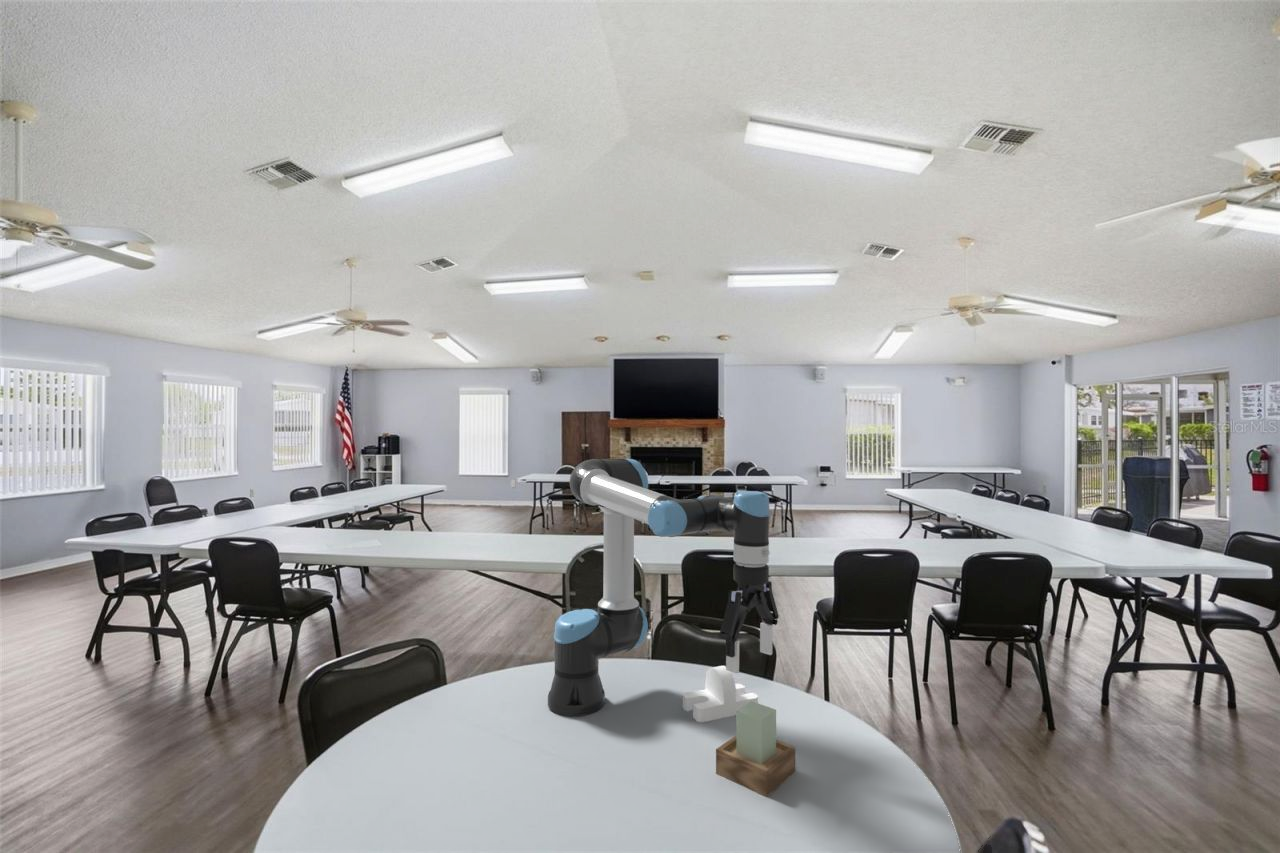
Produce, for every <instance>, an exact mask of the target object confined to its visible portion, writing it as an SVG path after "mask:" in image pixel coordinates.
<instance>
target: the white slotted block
mask: <svg viewBox="0 0 1280 853" xmlns="http://www.w3.org/2000/svg"><path fill="white" fill-rule="evenodd" d="M704 681H705V683H704V684H705V685H704V687H705V688H704V689H700V690H694V691H689V692H684V693H682V709H683V708H684V709H685V710H686V711H687V712H692V718H693V719H694V720H695V721H696V722H698V723H706V722H710V721H714V720H715V721H716V720H719V719H724V718H731V717H734V715H735V716H736V711H737V710H738V709H740V708H741V707H743V706H744V705H746V704H748V703H749V702H751V701H753V702H755V703H758V704H759V696H758V695H757V694H756V693H755V692H749V693H747V692H746V690H747V688H746V686H745V685H744V684H741V683H736V681H735V679H734V675H733V674H732V672H731V671H728V670H726V665H718V666H713V667H708V668H707V670H706V672H705V680H704ZM684 709H683V710H684ZM685 710H684V711H685ZM689 710H690V711H689ZM691 710H692V711H691ZM686 711H685V712H686Z"/></svg>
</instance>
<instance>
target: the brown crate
mask: <svg viewBox="0 0 1280 853" xmlns="http://www.w3.org/2000/svg"><path fill="white" fill-rule="evenodd" d="M795 772H796V747H795V746H793V745H792V744H791V745H790V744H788V743H786V742H783V741H782V740H781V741H780V740H778V739H776V753H775V754H774V755H773V756H772V757H770V758H769V759H768V760H767V761H765V762H764V763H763V764H759V763H757V762H755V761H752V760H750V759H748V758H745V757H743V756H741V755H738V754H736V735H734V736H733V737H731V738H730V739H729V740H727V741H726V742H724V743H723V744H721V745H720V746H718V747H717V748H715V774H716V775H718V776H720V777H722V778H726V779H728V780H729V781H731V782H734V783H736V784H738V785H741V786H743V787H744V788H747V789H748V790H751V791H753V792H755V793H757V794H759V795H762V796H764V797H766V798H767V797H769V796H770V795H771V794H772V793H773V792H774V791H775V790H776V789H778V788H779V787H780V786H781V785H782V784H783V783H784V782H785V781H786V780H787V779H788V778H789V777H790V776H792V775H793V774H794V773H795Z"/></svg>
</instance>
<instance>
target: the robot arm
mask: <svg viewBox="0 0 1280 853" xmlns="http://www.w3.org/2000/svg"><path fill="white" fill-rule="evenodd" d="M569 487H570V491H571V493H572V495H573V496H574V497H575V498H576V499H577V500H579V501H580V502H582V503H584V504H587V505H589V506H598V508H599V509H600V510H601V511H602V512H603V569H602V570H603V575H602V576H603V578H602V579H603V581H602V582H603V586H602V587H603V589H602V590H603V593H602V594H603V596H602V598H601V599H600V600H599V601H598V603H597V611H596V610H594V609H591V608H590V609H589V608H582V609H574V610H570V611H568V612H565V613H563V614H562V615H560V616H559V617H558V618H557V620H556V622H555V624H554V626H555V627H554V633H553V634H554V635H553V639H554V676H553V679H552V683H551V686H550V690H549V692H548V694H547V708H548V709H549V710H550V711H551V712H553V713H555V714H557V715H561V716H567V717H568V716H569V717H581V716H586V715H591V714H594V713H596V712H597V711H599V710H601V709H603V707H604V706H605V704H606V692H605V690H604V688H603V684H602V680H601V676H600V674H599V665H600V664H599V660H600V659H603V658H607V657H610V656H614V655H618V654H622V653H628V652H629V651H630V652H631V651H632V650H634V649H637V648H639V647H640V646H641V645H642V644H643V643H644V642H645V639H646V638H647V634H648V629H649V628H648V626H649V624H648V619H647V617H646V613H645V611H644V610H643V608H641V607H640V602H639V601H638V600H637V598H635V594H634V592H635V590H634V584H635V582H634V581H635V566H634V565H635V551H634V550H635V520H637V521H639V522H641V523H644V524H646V525H648V526H649V528H650V531H651V530H652V533H653V534H654V535H656V536H657V537H661V538H664V537H668V538H674V537H677V536H682V535H683V536H685V535H690V534H698V533H706V532H713V531H722V532H727V533H732V534H733V558H732V560H733V562H735V563H734V564H733V571H732V572H733V581H735V582H736V583H737V585H738V586H737V590H732V589H730V590H729V591H728V598H727V603H726V607H725V611H724V614H723V620H722V622H721V626H720V630H719V633H718V638H719V639H722V640H724V641H725V657H726V658H725V666H726V670H728V671H730V672H731V673H734V674H739V673H740V640H738V638H739V635H740V633H741V630H742V627H743V625H744V622H745V619H746V617H747V614H749V613H750V612H751V610H752V609H754V608H755V609H756V611H757V613H758V615H759V617H760V619H761V621H762V622H760V625H759V652H760V653H762V654H765V655H768V656H772V655H773V634H774V632H773V625H775V626H776V625H777V624H778V623H779V622H778V621H779V620H778V619H779V617H780V616H779V612H778V608H777V604H776V601H775V598H774V593H773V584H772V583H773V582H772V581H769V580H770V578H769V577H770V576H769V574H770V570H769V569H770V567H769V566H768V563H769V561H770V560H769V559H770V558H769V557H770V556H769V555H770V554H771V553H770V547H769V546H770V541H769V540H770V538H769V536H770V535H769V534H770V515H771V510H770V497H769V495H768V494H767V493H765V492H763V491H756V490H755V491H753V490H752V491H751V490H739V491H736V492H735V493H734V496H733V497H734V498H728V497H722V496H718V495H712V494H710V495H707V494H706V495H700V496H698V497H697V498H689V499H688V498H687V499H678V498H674V497H671V496H668V495H666V494H664V493H659V492H657V491H654V490H651V489H649V478H648V474H647V471H646V469H645V467H643V466H642V464H641V462H639V461H638V460H637V459H633V458H622V457H621V458H601V459H597V458H594V459H593V458H591V459H587V460H584V461H582V462H581V463H579V464H577V466H575V467H574V468H573V470H572V472H571V474H570V477H569Z"/></svg>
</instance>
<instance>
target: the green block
mask: <svg viewBox="0 0 1280 853" xmlns="http://www.w3.org/2000/svg"><path fill="white" fill-rule="evenodd" d="M735 716H736V718H735V720H736V723H735V724H736V725H735V726H736V731H735V732H736V734H735V736H736V754H738V755H741V756H743V757H745V758H748V759H750V760H752V761H755V762H757V763H759V764H763V763H764V762H765V761H767V760H768V759H769V758H770V757H772V756H773V755H774V754H775V753H776V740H777V709H776V708H772V707H770V706H766V705H764V704H761V703H759V702H758V703H755V702H753V701H751V702H749V703H748V704H746V705H744V706H743V707H741V708H740V709H738V710H737V711H736V715H735Z"/></svg>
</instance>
